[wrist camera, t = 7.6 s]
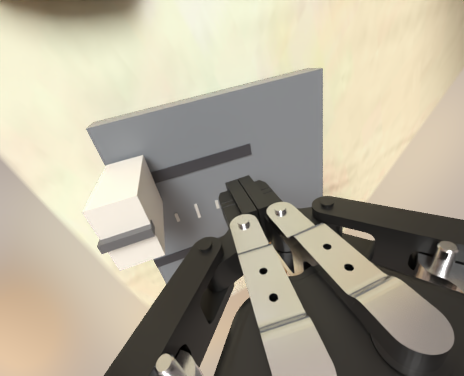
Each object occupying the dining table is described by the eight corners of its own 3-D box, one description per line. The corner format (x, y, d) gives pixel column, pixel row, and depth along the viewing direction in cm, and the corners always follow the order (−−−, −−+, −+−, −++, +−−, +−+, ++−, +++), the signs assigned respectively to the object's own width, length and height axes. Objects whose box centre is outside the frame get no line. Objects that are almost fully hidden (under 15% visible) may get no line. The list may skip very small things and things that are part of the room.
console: (307, 68, 19) (323, 68, 17) (312, 217, 27) (323, 227, 25) (93, 122, 17) (85, 128, 15) (166, 269, 24) (166, 285, 22)
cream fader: (143, 154, 16) (137, 199, 11) (163, 201, 18) (166, 260, 13) (105, 165, 16) (78, 217, 10) (129, 212, 18) (117, 277, 12)
